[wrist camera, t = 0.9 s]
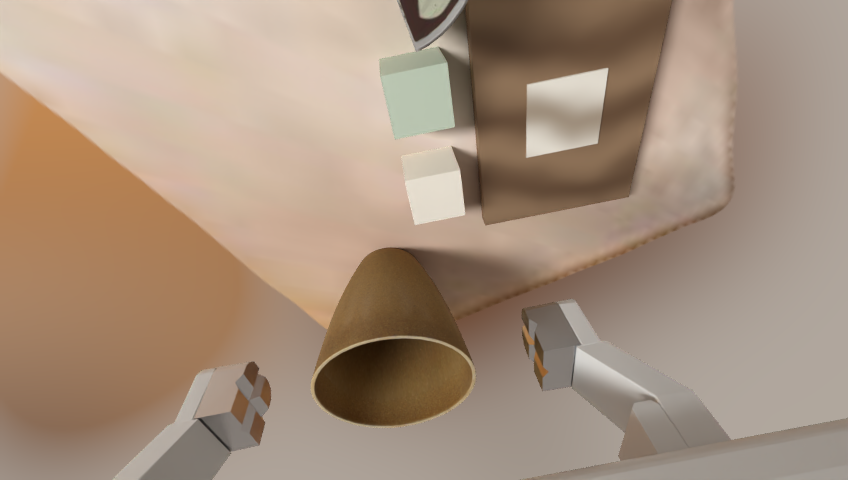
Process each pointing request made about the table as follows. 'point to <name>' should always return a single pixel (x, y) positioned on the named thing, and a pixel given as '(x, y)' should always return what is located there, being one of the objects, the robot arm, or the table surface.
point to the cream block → (433, 185)
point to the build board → (560, 99)
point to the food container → (429, 18)
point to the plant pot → (391, 348)
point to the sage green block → (417, 92)
